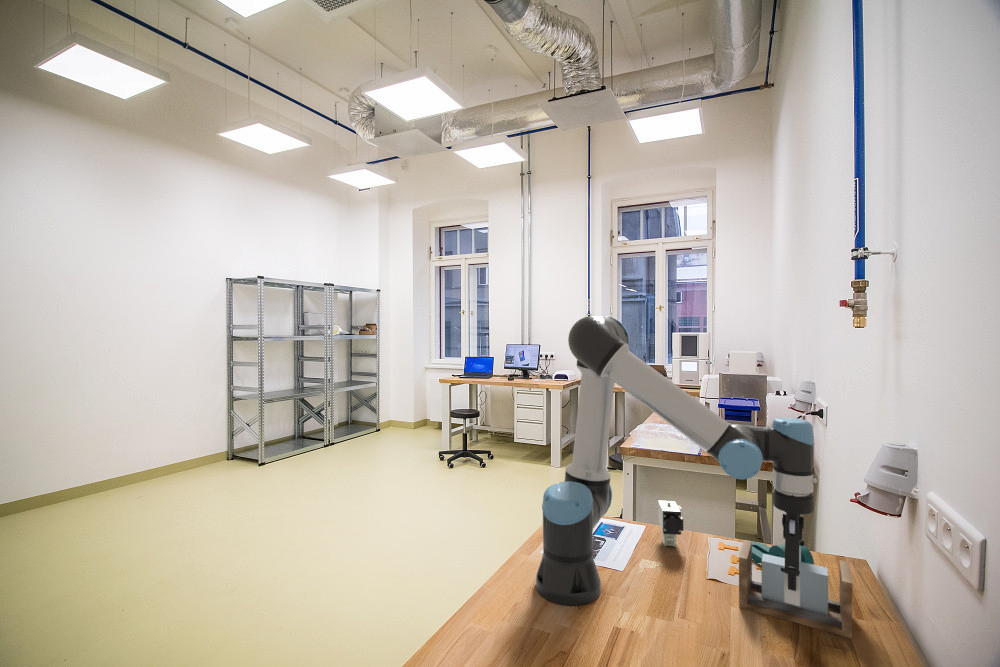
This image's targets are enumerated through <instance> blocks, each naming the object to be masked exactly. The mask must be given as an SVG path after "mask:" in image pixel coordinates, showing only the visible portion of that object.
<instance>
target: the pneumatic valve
mask: <svg viewBox="0 0 1000 667" xmlns="http://www.w3.org/2000/svg"><path fill="white" fill-rule="evenodd" d="M657 521H658V524H659V526H660V529H661V533H662V538H661V541H662V544H663V546H664V547H667V546H668V547H677V545H678V544H677V535H678V536H679V535H682V532H684V519H683V517H682V507H681V505H677V503H676V501H675V500H667V499H657Z"/></svg>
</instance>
